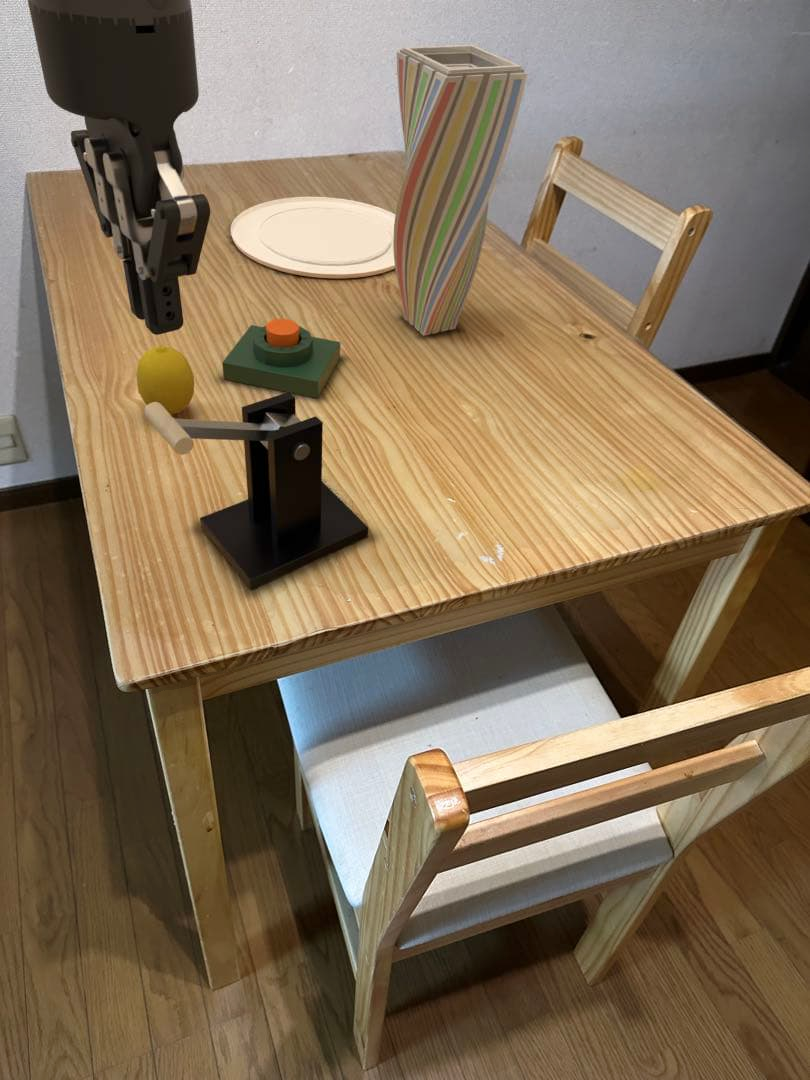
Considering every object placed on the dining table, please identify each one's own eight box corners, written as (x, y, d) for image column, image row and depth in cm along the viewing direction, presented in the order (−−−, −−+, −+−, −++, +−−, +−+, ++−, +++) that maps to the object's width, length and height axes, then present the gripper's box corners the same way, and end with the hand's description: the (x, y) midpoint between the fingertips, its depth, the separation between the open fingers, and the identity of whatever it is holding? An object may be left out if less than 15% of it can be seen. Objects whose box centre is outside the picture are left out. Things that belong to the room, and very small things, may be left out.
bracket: (250, 590, 64) (242, 470, 55) (200, 527, 68) (184, 408, 60) (368, 537, 69) (377, 420, 61) (314, 482, 74) (315, 367, 65)
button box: (223, 379, 86) (220, 347, 83) (252, 341, 92) (250, 310, 89) (317, 398, 85) (318, 366, 82) (340, 358, 91) (341, 327, 88)
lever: (170, 461, 53) (179, 430, 52) (140, 424, 55) (147, 394, 54) (307, 462, 62) (317, 436, 60) (275, 430, 64) (284, 405, 63)
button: (262, 345, 85) (261, 331, 84) (273, 330, 87) (272, 316, 86) (293, 351, 84) (293, 337, 83) (303, 336, 87) (303, 322, 86)
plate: (262, 288, 102) (262, 283, 101) (210, 207, 119) (209, 203, 119) (449, 267, 111) (449, 263, 111) (375, 195, 129) (375, 191, 129)
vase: (444, 291, 106) (477, 39, 85) (501, 337, 98) (553, 71, 77) (358, 309, 100) (372, 42, 80) (412, 359, 92) (443, 78, 72)
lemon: (191, 431, 78) (183, 363, 73) (136, 427, 78) (124, 358, 72) (202, 401, 82) (195, 334, 77) (150, 397, 82) (139, 329, 76)
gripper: (-18, -34, 39) (59, 290, 51) (87, 29, 31) (148, 390, 43) (126, -34, 42) (166, 268, 54) (250, 22, 35) (264, 356, 47)
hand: (158, 321), depth 49 cm, fingers closed
